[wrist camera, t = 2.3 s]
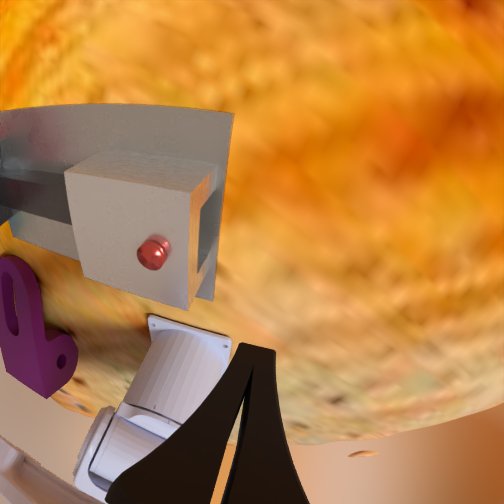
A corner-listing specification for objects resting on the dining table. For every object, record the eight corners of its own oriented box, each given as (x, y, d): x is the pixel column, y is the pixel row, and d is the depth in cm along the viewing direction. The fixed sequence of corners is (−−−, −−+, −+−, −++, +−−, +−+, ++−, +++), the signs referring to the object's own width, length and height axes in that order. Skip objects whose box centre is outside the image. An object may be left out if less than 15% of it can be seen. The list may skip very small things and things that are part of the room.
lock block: (208, 269, 21) (184, 317, 17) (113, 244, 22) (79, 282, 18) (217, 164, 17) (185, 198, 13) (105, 148, 17) (56, 175, 13)
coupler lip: (213, 298, 23) (196, 340, 20) (14, 235, 25) (-10, 257, 21) (234, 113, 15) (208, 127, 11) (-8, 112, 17) (-42, 127, 13)
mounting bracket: (31, 242, 34) (39, 351, 37) (-12, 251, 26) (6, 371, 29) (74, 254, 33) (80, 372, 36) (27, 267, 25) (46, 399, 28)
